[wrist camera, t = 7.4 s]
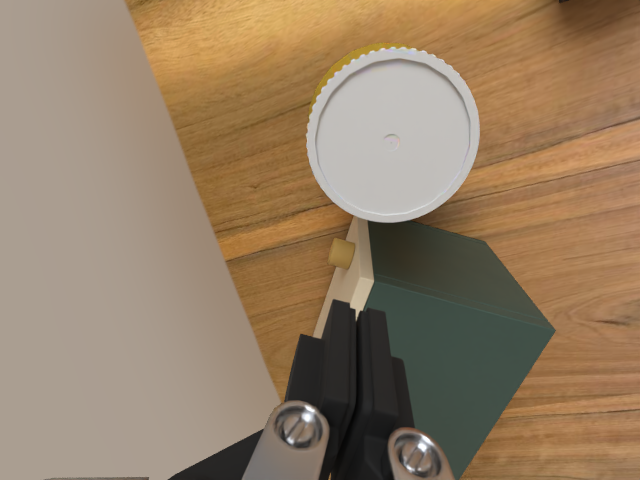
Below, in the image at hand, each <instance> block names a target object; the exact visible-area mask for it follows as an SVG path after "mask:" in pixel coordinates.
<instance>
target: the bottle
mask: <svg viewBox="0 0 640 480" xmlns="http://www.w3.org/2000/svg"><path fill="white" fill-rule="evenodd" d="M307 129H308V133H307V134H306V138H307V143H306V147H307V148H308V153H307V156H308V157H309V161H310V162H309V164H310V166H311V168H312V173H313V174H314V176H315V178H316V181H317V182H318V183H319V185H320V186H321V189H322V190H323V191H324V192H325V193H326V195H327V196H328V197H329V198H330V199H331V200H332V201H333V202H334V203H335V204H337V205H338V206H339V207H340V208H342V209H344V210H345V211H347V212H349V213H350V214H352V215H355V216H357V217H360V218H362V219H366V220H370V221H375V222H387V223H389V222H401V221H406V220H411V219H414V218H417V217H420V216H422V215H425V214H427V213H429V212H431V211H432V210H434V209H436V208H437V207H439V206H440V205H442V204H443V203H444V202H445V201H447V200H448V199H449V198H450V197H451V196H452V195H453V194H454V193H455V192H456V191H457V190H458V188H459V187H460V186H461V184H462V183H463V182H464V180H465V179H466V177H467V175H468V173H469V172H470V170H471V167H472V165H473V163H474V160H475V157H476V153H477V149H478V144H479V135H480V126H479V116H478V111H477V107H476V104H475V100H474V98H473V96H472V94H471V91H470V89H469V88H468V87H467V85H466V82H465V81H464V80H463V79H462V78H461V77H460V74H459V73H458V72H456V71H454V70H453V68H452V66H451V65H447V64H446V63H445V61H444V60H442V59H438V58H436V56H435V55H433V54H431V55H429V54H427V53H426V51H420V50H417V49H415V48H412V47H410V46H407V45H404V44H399V43H376V44H371V45H368V46H365V47H362V48H359V49H356V50H354V51H352V52H350V53H348V54H347V55H346V56H344V57H343V58H342V59H340V60H339V61H338V62H336V63H335V64H334V65H333V66H332V67H331V68H330V69H329V70H328V71H327V73H326V74H325V76H324V77H323V79H322V80H321V81H320V83H319V84H318V86H317V88H316V90H315V92H314V95H313V99H312V102H311V105H310V108H309V113H308V125H307Z"/></svg>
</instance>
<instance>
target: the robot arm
mask: <svg viewBox="0 0 640 480" xmlns="http://www.w3.org/2000/svg"><path fill="white" fill-rule="evenodd" d="M330 473H331V480H455V478H454V476H453V473H452V470H451V468H450V465H449V463H448V460H447V457H446V455H445V454H444V452H443V450H442V448H441V447H440V446H439V444H438V443H437V442H436V441H435V440H434V439H433V438H431V437H430V436H429V435H428V434H426V433H424V432H422V431H420V430H418V429H415V425H414V419H413V413H412V407H411V401H410V395H409V390H408V384H407V378H406V372H405V366H404V362H403V360H402V359H401V358H397V357H393V356H391V351H390V344H389V336H388V328H387V320H386V313H385V312H384V311H380V310H376V309H372V308H367V309H366V311H361V310H360V312H359V314H358V317H357V320H356V309H353V308H350V303H348V302H344V301H340V300H336V299H333V300H332V303H331V306H330V310H329V313H328V317H327V320H326V323H325V327H324V330H323V333H322V337H321V339H319V338H315V337H311V336H307V335H303V334H300V337H299V341H298V345H297V348H296V352H295V356H294V360H293V364H292V368H291V372H290V377H289V381H288V386H287V391H286V395H285V400H284V403H281V404H280V405H279V406H277V407H276V408H275V409H274V410H273V412H272V413H271V414H270V417H269V419H268V421H267V424H266V426H265V428H264V429H262V430H260V431H258V432H257V433H254V434H252V435H251V436H249V437H247V438H245V439H243V440H241V441H239V442H237V443H235V444H233V445H231V446H229V447H227V448H225V449H224V450H222V451H220V452H218V453H216V454H214V455H212V456H210V457H208V458H206V459H204V460H202V461H200V462H199V463H196V464H195V465H193V466H191V467H189V468H187V469H185V470H183V471H181V472H179V473H177V474H175V475H174V476H172V477H171V478H170V479H168V480H328V478H329V475H330ZM45 480H149V477H126V478H125V477H119V478H118V477H117V478H114V477H113V478H51V479H45Z"/></svg>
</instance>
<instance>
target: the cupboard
mask: <svg viewBox="0 0 640 480" xmlns="http://www.w3.org/2000/svg"><path fill="white" fill-rule="evenodd" d="M367 222H368V231H369V240H370V248H371V257H372V266H373V275H374V283H373V286H372V288H371V291H370V293H369V296H368V299H367V301H366V304H365V306H364V309H363V311H366V309H367V308H372V309H376V310H380V311H384V312H385V313H386V320H387V328H388V336H389V344H390V351H391V356H393V357H397V358H401V359H402V360H403V362H404V366H405V372H406V378H407V384H408V390H409V395H410V401H411V407H412V413H413V419H414V425H415V429H418V430H420V431H422V432H424V433H426V434H428V435H429V436H430V437H431V438H433V439H434V440H435V441H436V442H437V443H438V444H439V446H440V447H441V448H442V450H443V452H444V454H445V455H446V457H447V460H448V463H449V465H450V468H451V470H452V473H453V476H454V478H455V480H459V479H460V477H461V476H462V474H463V473H464V471H465V470H466V468H467V467H468V465H469V463H470V462H471V460H472V459H473V457H474V456H475V454H476V453H477V451H478V450H479V448H480V446H481V445H482V443H483V442H484V440H485V439H486V437H487V436H488V434H489V433H490V431H491V430H492V428H493V426H494V425H495V423H496V422H497V420H498V419H499V417H500V416H501V414H502V413H503V411H504V410H505V408H506V406H507V405H508V403H509V402H510V400H511V399H512V397H513V396H514V394H515V393H516V391H517V390H518V388H519V386H520V385H521V383H522V382H523V380H524V379H525V377H526V376H527V374H528V373H529V371H530V369H531V368H532V366H533V365H534V363H535V362H536V360H537V359H538V357H539V356H540V354H541V353H542V351H543V349H544V348H545V346H546V345H547V343H548V342H549V340H550V339H551V337H552V336H553V334H554V333H555V331H556V330H555V329H554V327H553V326H552V325H551V324H550V322H548V320H547V319H546V318H545V316H544V315H543V314H542V313H541V311H540V310H539V309H538V308H537V306H536V305H535V304H534V303H533V301H532V300H531V299H530V298H529V296H528V295H527V294H526V293H525V291H524V290H523V289H522V287H521V286H520V285H519V284H518V282H517V281H516V280H515V279H514V277H513V276H512V275H511V274H510V272H509V271H508V270H507V269H506V267H505V266H504V265H503V264H502V262H501V261H500V260H499V259H498V257H497V256H496V255H495V253H494V252H493V251H492V250H491V248H490V247H489V246H488V245H487V243H486V242H484V241H481V240H477V239H474V238H470V237H467V236H463V235H459V234H456V233H452V232H449V231H445V230H441V229H438V228H434V227H431V226H427V225H424V224H420V223H416V222H413V221H409V220H406V221H401V222H389V223H387V222H375V221H370V220H367Z"/></svg>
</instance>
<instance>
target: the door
mask: <svg viewBox="0 0 640 480" xmlns="http://www.w3.org/2000/svg"><path fill="white" fill-rule="evenodd" d="M327 264H329V265H332V266H336V269H335V272H334V275H333V278H332V281H331V284H330V287H329V290H328V293H327V296H326V299H325V301H324V304H323V307H322V310H321V313H320V316H319V319H318V322H317V325H316V328H315V331H314V334H313V337H315V338H319V339H321V337H322V333H323V330H324V327H325V323H326V320H327V317H328V313H329V310H330V306H331V303H332V300H333V299H336V300H340V301H344V302H348V303H350V308H353V309H356V320H357V317H358V314H359V312H360V310H361V311H363V309H364V306H365V304H366V301H367V299H368V296H369V293H370V291H371V288H372V286H373V283H374V275H373V266H372V257H371V248H370V240H369V231H368V222H367V220H366V219H362V218H360V217H357V216H355V215H354V216H353V219H352V222H351V225H350V228H349V231H348V234H347V237H346V240H342V239H338V238H334V240H333V243H332V245H331V249H330V252H329V256H328V261H327Z"/></svg>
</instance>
